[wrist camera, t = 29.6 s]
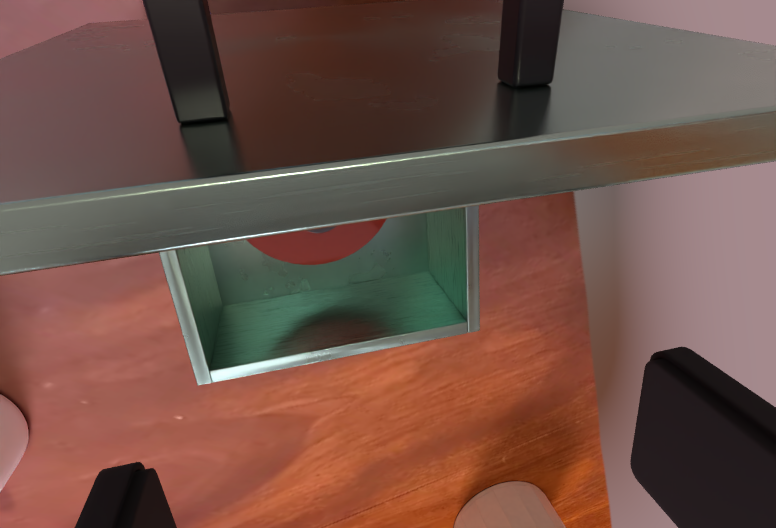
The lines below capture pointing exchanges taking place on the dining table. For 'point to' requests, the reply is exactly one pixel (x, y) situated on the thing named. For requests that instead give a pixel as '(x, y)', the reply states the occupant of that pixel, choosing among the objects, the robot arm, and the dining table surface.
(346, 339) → the open box
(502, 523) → the pot
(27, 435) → the cup
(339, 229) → the pot lid
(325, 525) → the dining table surface
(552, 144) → the box lid
